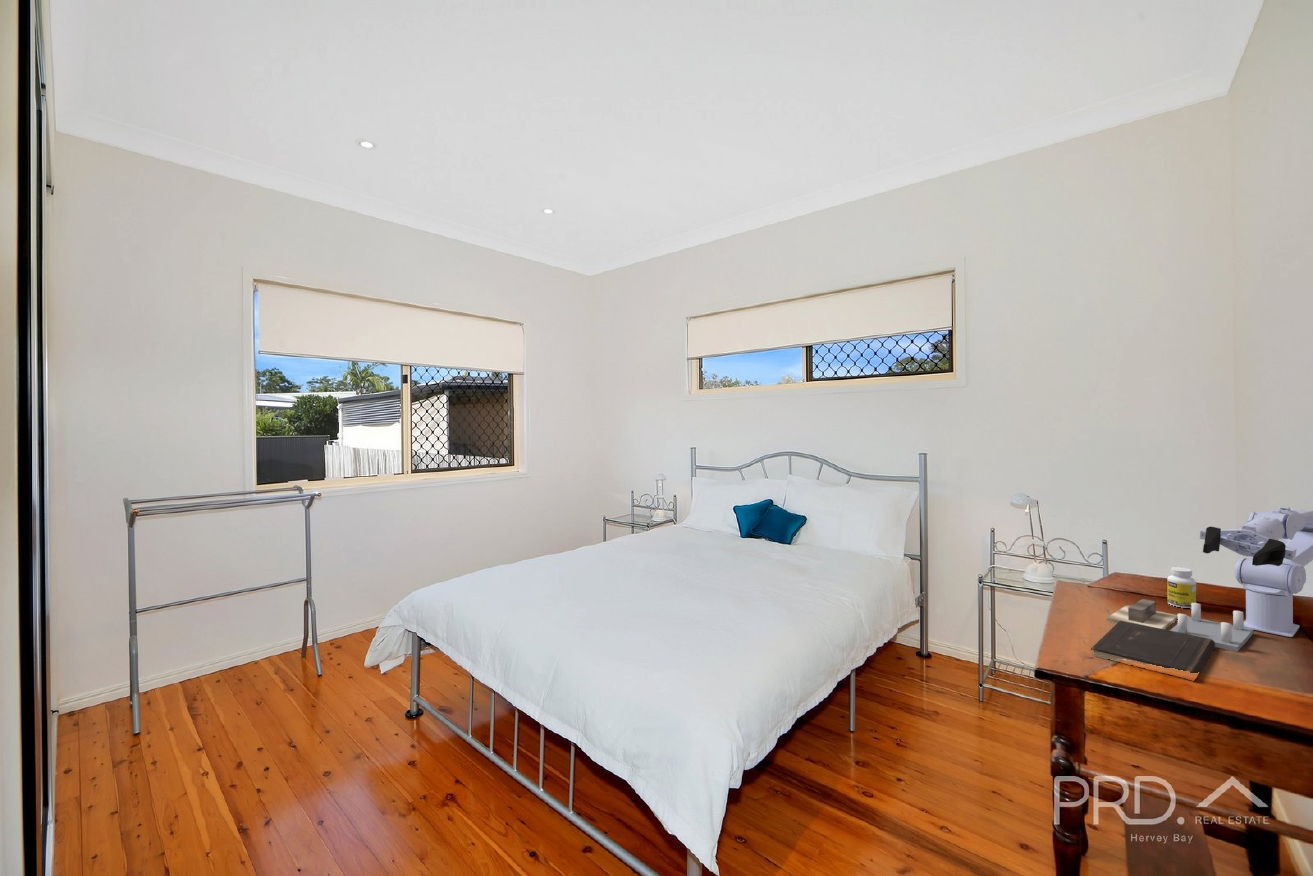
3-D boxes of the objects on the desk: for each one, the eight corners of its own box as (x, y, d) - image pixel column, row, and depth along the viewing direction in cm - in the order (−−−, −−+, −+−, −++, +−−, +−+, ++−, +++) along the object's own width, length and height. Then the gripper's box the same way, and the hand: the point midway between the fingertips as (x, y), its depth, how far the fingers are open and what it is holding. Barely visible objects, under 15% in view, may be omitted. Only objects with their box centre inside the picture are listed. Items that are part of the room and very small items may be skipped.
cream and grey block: (1126, 610, 142) (1126, 593, 142) (1178, 621, 134) (1178, 603, 134) (1106, 623, 135) (1106, 605, 134) (1160, 635, 126) (1159, 616, 126)
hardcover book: (1091, 658, 117) (1090, 648, 117) (1120, 629, 131) (1120, 620, 131) (1194, 685, 104) (1194, 673, 104) (1215, 650, 118) (1214, 639, 118)
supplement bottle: (1163, 604, 144) (1162, 568, 143) (1173, 601, 146) (1173, 565, 146) (1190, 611, 139) (1189, 573, 138) (1200, 607, 141) (1200, 569, 141)
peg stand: (1187, 620, 133) (1187, 600, 133) (1253, 633, 124) (1253, 612, 124) (1168, 636, 125) (1167, 614, 125) (1237, 651, 116) (1237, 628, 115)
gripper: (1213, 511, 128) (1187, 527, 122) (1306, 529, 115) (1281, 548, 109) (1210, 539, 129) (1183, 556, 124) (1301, 560, 117) (1276, 580, 111)
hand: (1229, 554), depth 117 cm, fingers open, 7 cm apart
